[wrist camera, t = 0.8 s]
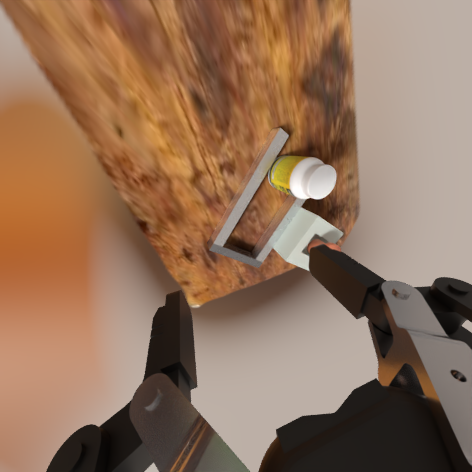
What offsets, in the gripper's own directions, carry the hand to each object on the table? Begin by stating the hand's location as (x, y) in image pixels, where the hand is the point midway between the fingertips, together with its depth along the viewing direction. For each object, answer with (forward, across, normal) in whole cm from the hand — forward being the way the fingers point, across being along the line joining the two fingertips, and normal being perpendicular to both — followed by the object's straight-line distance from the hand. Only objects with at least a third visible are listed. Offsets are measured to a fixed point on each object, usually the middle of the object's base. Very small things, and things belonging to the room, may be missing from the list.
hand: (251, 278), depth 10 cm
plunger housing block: (+24, -18, +14) cm, 32 cm away
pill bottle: (+24, -15, 0) cm, 28 cm away
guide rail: (+24, -11, +5) cm, 27 cm away
